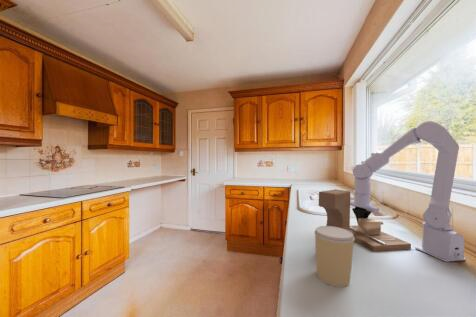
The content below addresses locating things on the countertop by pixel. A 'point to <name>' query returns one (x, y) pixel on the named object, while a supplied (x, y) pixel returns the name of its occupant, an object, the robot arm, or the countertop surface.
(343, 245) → the coffee cup
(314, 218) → the countertop surface
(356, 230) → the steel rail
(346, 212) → the decorative block
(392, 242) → the walnut board
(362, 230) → the beige peg block
